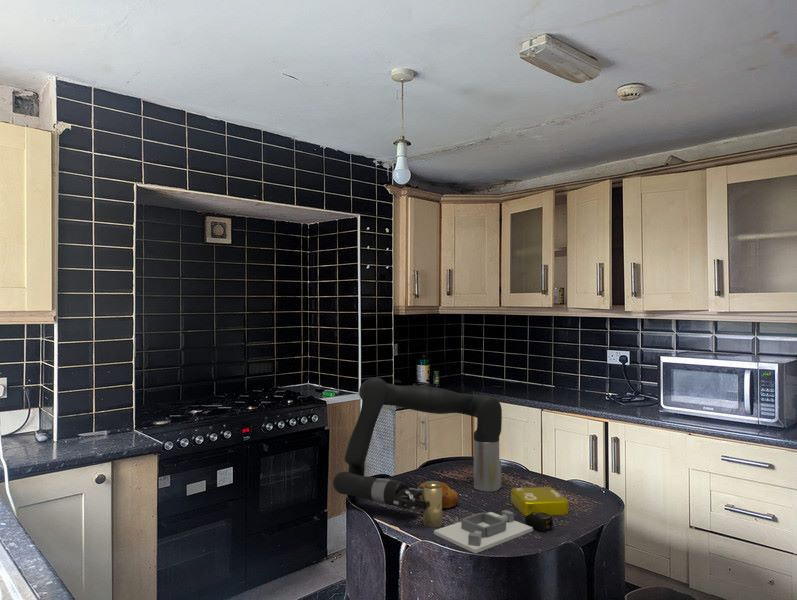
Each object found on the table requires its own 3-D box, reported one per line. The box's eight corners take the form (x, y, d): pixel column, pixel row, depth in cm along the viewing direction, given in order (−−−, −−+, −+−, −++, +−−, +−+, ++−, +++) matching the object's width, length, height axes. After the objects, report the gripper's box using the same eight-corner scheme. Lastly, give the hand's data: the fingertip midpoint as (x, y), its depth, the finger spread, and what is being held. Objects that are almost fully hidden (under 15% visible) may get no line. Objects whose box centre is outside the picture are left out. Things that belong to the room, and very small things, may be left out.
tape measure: (523, 526, 158) (523, 513, 158) (539, 521, 162) (539, 509, 162) (541, 534, 152) (541, 521, 152) (557, 529, 156) (557, 516, 156)
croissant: (454, 519, 169) (457, 494, 169) (406, 508, 172) (409, 484, 172) (459, 502, 183) (462, 479, 183) (414, 493, 187) (417, 470, 187)
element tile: (570, 515, 167) (570, 499, 168) (524, 517, 166) (524, 501, 166) (552, 499, 182) (552, 485, 183) (509, 500, 181) (509, 486, 181)
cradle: (490, 515, 167) (490, 503, 167) (532, 530, 154) (532, 518, 154) (433, 534, 152) (433, 521, 152) (475, 553, 139) (475, 539, 139)
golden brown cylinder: (433, 518, 164) (433, 479, 164) (445, 524, 159) (445, 483, 160) (419, 523, 160) (419, 482, 161) (432, 528, 156) (432, 487, 156)
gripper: (376, 486, 163) (422, 495, 154) (401, 474, 175) (445, 482, 166) (376, 511, 162) (422, 522, 154) (401, 497, 174) (445, 507, 165)
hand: (434, 501), depth 160 cm, fingers open, 8 cm apart
